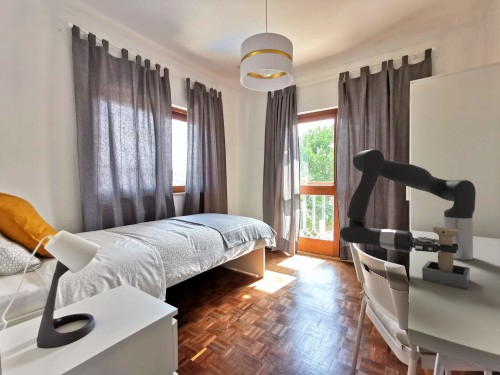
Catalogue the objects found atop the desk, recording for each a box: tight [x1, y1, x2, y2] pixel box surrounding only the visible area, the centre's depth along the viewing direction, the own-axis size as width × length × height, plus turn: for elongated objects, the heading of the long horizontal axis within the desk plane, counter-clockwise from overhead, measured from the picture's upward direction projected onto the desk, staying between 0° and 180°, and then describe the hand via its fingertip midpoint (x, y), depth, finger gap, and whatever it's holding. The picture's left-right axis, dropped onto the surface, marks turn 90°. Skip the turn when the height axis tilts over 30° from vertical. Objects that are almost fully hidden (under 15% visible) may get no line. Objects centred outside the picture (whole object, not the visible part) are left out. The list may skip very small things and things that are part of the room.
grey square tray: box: [421, 260, 471, 291], centre depth 77 cm, size 11×11×4 cm
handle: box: [432, 226, 459, 273], centre depth 77 cm, size 5×6×15 cm
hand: (456, 248), depth 75 cm, fingers closed on handle, 3 cm apart
